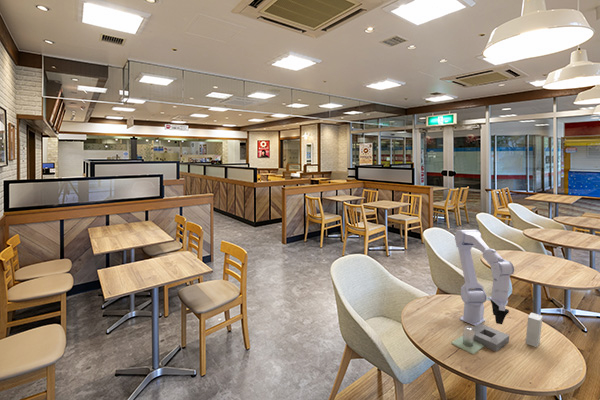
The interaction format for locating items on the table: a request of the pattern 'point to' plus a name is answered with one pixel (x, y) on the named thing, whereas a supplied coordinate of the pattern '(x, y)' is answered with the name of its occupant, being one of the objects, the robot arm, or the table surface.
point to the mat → (471, 350)
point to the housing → (490, 337)
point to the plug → (468, 336)
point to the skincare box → (533, 329)
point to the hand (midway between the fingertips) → (497, 319)
